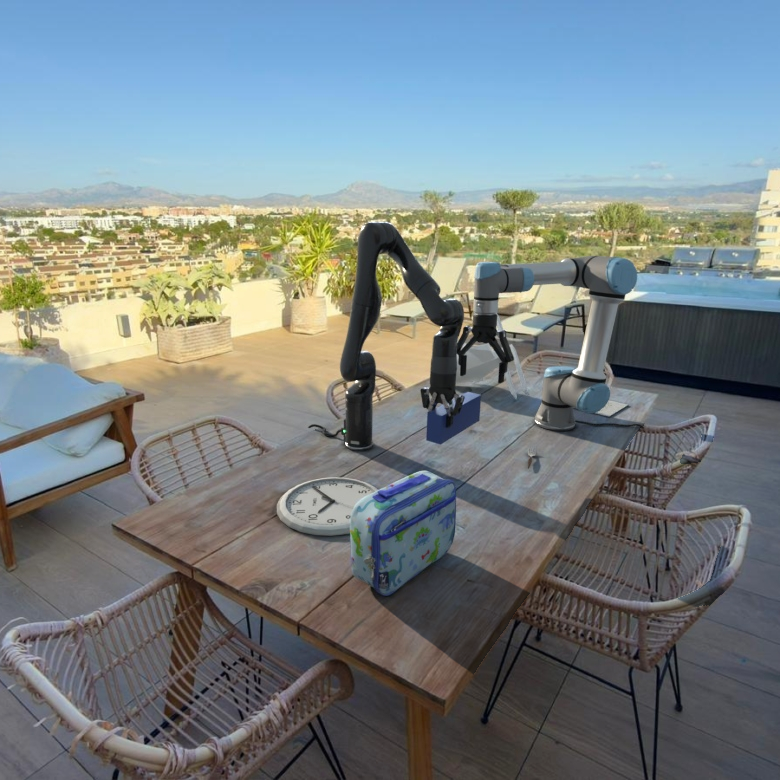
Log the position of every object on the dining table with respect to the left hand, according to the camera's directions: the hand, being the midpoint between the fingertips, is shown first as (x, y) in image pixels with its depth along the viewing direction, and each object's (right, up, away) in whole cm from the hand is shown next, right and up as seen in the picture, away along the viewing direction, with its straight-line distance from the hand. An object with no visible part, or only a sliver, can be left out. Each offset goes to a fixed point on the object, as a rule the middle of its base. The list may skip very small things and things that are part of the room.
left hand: (440, 424), depth 155 cm
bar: (+5, -2, +8) cm, 10 cm away
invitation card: (+77, +3, +71) cm, 104 cm away
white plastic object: (+27, +9, +88) cm, 92 cm away
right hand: (+15, +14, +14) cm, 24 cm away
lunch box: (-12, -30, -38) cm, 50 cm away
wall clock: (-31, -21, -12) cm, 39 cm away
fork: (+31, -13, +17) cm, 38 cm away
